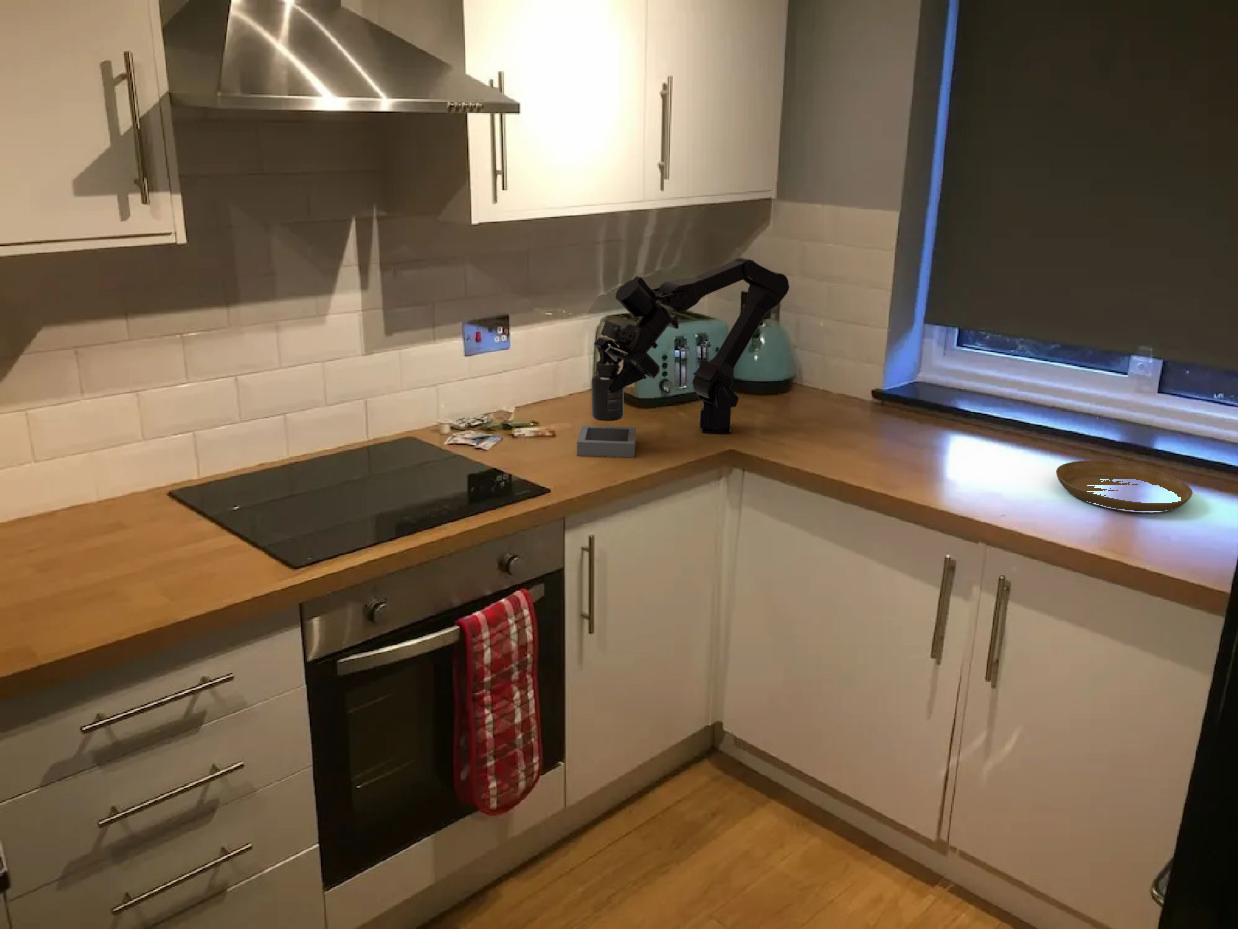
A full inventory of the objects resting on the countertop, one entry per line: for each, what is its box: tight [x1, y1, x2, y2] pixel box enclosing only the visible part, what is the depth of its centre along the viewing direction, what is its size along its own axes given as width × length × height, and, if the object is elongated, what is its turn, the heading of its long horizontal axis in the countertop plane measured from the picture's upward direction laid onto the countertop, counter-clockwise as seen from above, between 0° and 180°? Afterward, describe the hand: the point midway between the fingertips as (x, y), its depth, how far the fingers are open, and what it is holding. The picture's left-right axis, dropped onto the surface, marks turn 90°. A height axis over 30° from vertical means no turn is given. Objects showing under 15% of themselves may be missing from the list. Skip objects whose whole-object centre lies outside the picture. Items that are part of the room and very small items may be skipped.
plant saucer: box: [1055, 460, 1194, 511], centre depth 203 cm, size 24×24×3 cm
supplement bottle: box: [591, 360, 625, 422], centre depth 222 cm, size 7×7×12 cm
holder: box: [576, 425, 637, 458], centre depth 225 cm, size 12×12×3 cm
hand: (601, 387), depth 221 cm, fingers closed on supplement bottle, 7 cm apart
